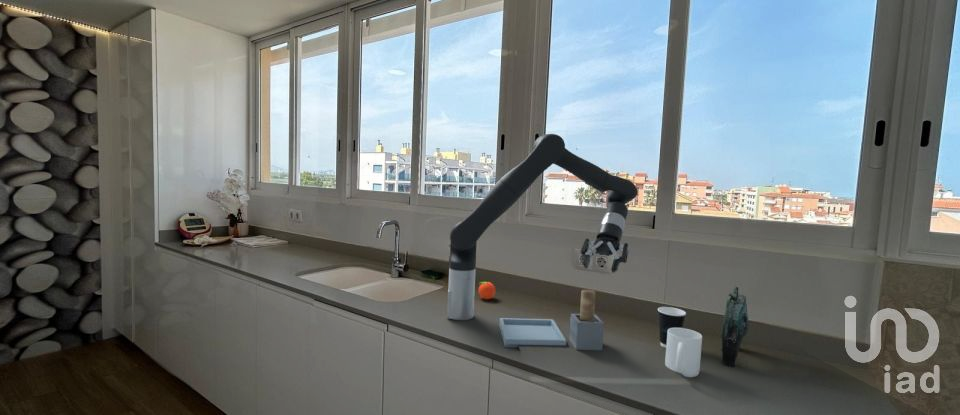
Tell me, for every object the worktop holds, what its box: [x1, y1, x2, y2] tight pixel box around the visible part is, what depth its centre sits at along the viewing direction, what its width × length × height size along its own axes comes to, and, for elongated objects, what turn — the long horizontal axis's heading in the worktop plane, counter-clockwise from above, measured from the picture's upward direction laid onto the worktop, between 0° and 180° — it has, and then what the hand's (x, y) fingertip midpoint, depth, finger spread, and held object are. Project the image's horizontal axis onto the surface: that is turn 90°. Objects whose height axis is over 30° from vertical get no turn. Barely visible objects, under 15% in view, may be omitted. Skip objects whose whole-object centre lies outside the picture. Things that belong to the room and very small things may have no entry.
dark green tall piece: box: [721, 286, 749, 368], centre depth 122 cm, size 20×6×20 cm, turn 144°
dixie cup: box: [657, 306, 687, 349], centre depth 128 cm, size 8×8×11 cm
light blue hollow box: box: [568, 313, 605, 351], centre depth 123 cm, size 8×8×9 cm
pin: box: [579, 289, 596, 322], centre depth 123 cm, size 4×4×16 cm
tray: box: [498, 317, 567, 349], centre depth 131 cm, size 18×18×2 cm
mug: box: [664, 327, 703, 378], centre depth 109 cm, size 12×8×10 cm
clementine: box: [478, 281, 496, 300], centre depth 169 cm, size 8×7×7 cm
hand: (598, 269), depth 130 cm, fingers open, 8 cm apart
